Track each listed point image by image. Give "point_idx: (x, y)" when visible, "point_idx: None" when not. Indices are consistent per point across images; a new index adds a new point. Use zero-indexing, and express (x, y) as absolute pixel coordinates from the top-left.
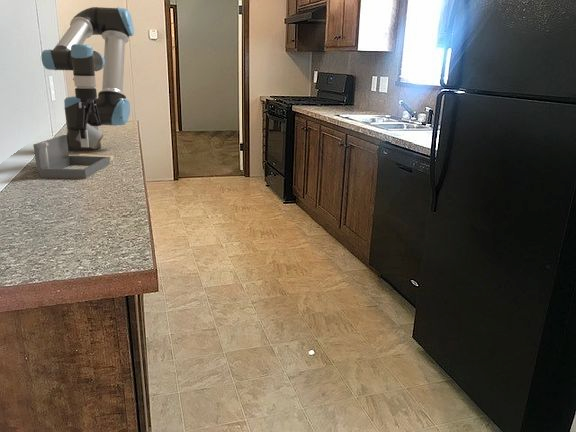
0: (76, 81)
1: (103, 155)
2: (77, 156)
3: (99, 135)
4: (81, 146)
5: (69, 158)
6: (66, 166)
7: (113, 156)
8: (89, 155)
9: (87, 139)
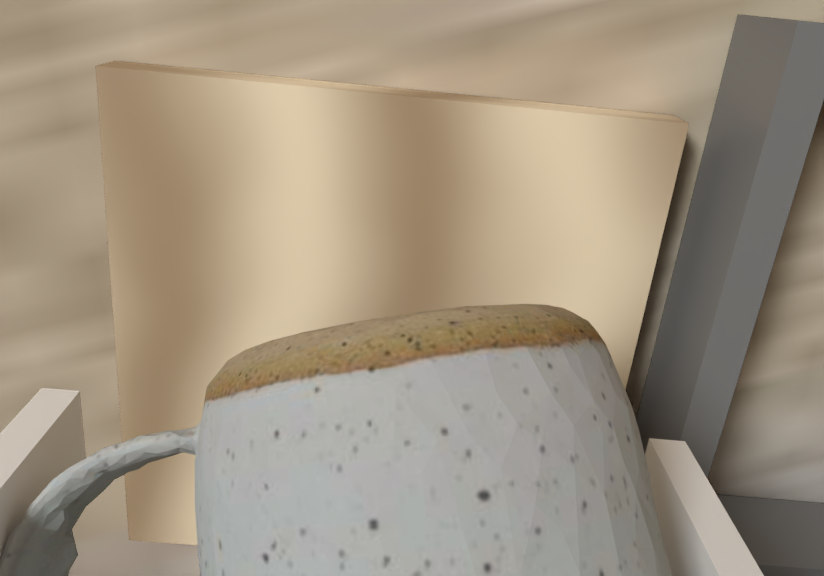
0: None
1: (233, 239)
2: None
3: (575, 391)
4: None
5: None
6: (800, 503)
7: (233, 77)
8: None
9: (744, 545)
